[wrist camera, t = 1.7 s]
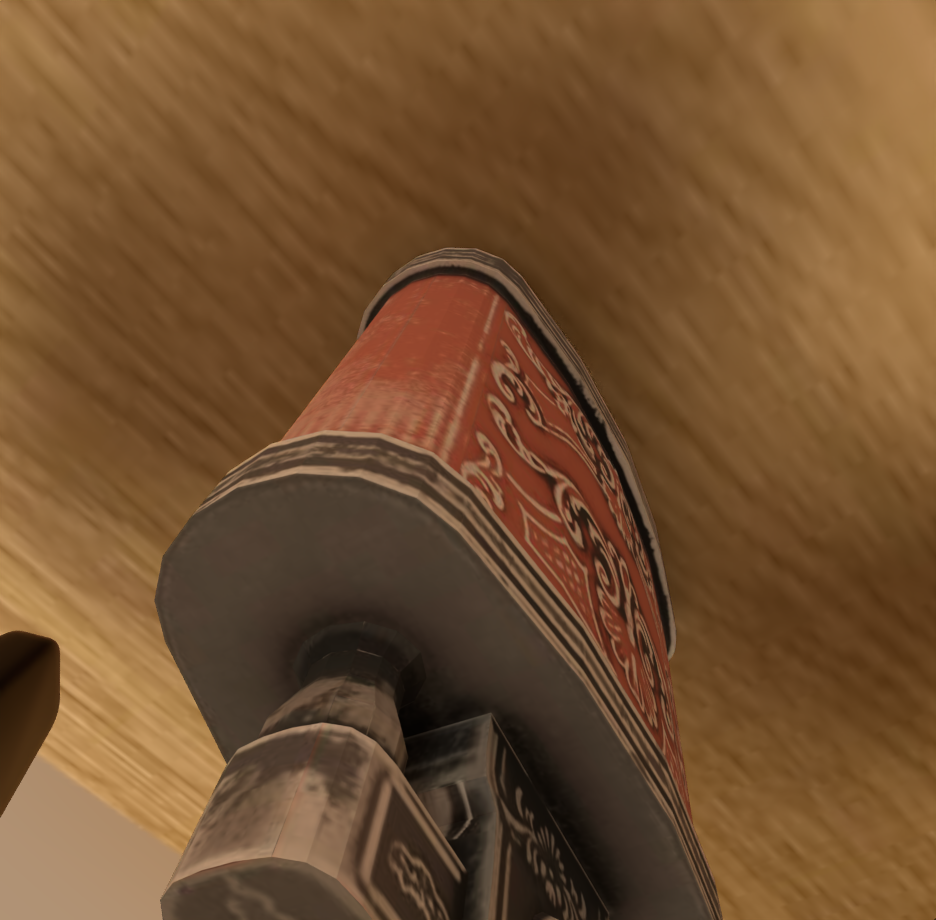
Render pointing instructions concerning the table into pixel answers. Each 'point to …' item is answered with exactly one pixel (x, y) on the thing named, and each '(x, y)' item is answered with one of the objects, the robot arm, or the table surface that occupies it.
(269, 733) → the lighter
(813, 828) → the table surface
